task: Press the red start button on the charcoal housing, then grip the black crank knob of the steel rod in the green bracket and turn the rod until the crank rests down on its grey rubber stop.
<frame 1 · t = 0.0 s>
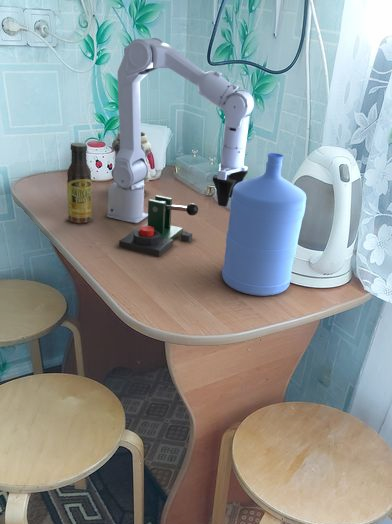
hand: (227, 201, 132), 10 cm above the table, tool pointing down, fingers open, 7 cm apart
button: (146, 231, 127), point 4 cm above the table, slide at 0.1 cm
rod: (176, 207, 131), point 8 cm above the table, hinge at 6.0°
button box: (146, 246, 129), on the table
crank rest: (186, 240, 135), on the table
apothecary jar: (130, 193, 163), on the table
sauce bottle: (80, 221, 140), on the table
rod bracket: (158, 233, 137), on the table
water jug: (255, 281, 118), on the table
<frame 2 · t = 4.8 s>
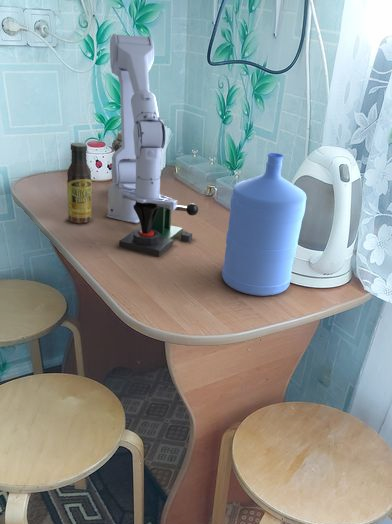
hand: (146, 232, 127), 4 cm above the table, tool pointing down, fingers closed, pressing on button
button: (146, 235, 128), point 3 cm above the table, slide at -0.9 cm, touching gripper
everything else where it was.
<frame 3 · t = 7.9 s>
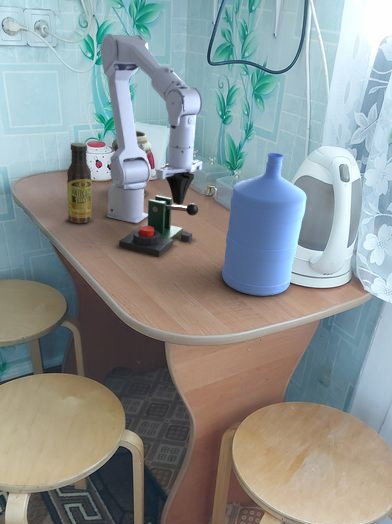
hand: (177, 203, 127), 10 cm above the table, tool pointing down, fingers closed
button: (146, 231, 127), point 4 cm above the table, slide at 0.1 cm
everything else where it was.
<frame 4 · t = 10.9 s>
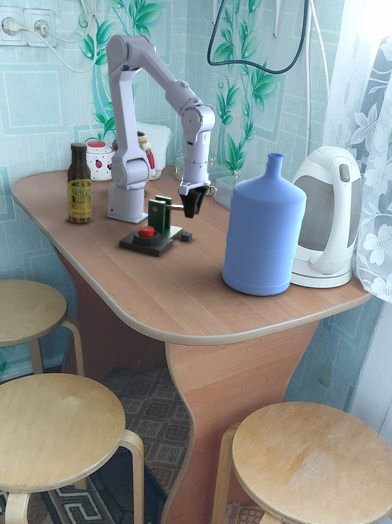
hand: (191, 215, 131), 7 cm above the table, tool pointing down, fingers closed on rod, 3 cm apart
rod: (176, 207, 131), point 8 cm above the table, hinge at 6.0°, touching gripper
everything else where it was.
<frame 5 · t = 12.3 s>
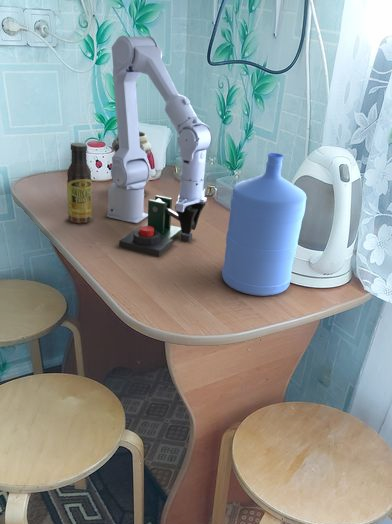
hand: (188, 231, 133), 3 cm above the table, tool pointing down, fingers closed on rod, 3 cm apart
rod: (174, 215, 132), point 6 cm above the table, hinge at -19.7°, touching gripper
everything else where it was.
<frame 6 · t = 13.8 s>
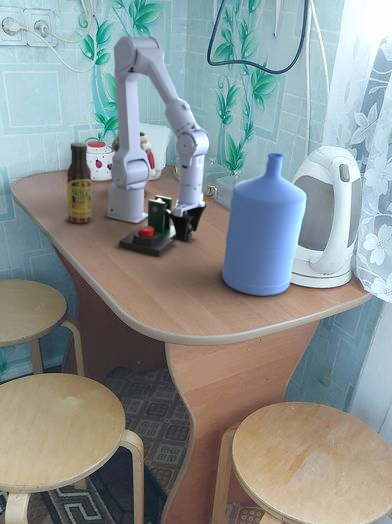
hand: (186, 235, 134), 1 cm above the table, tool pointing down, fingers open, 7 cm apart
rod: (173, 217, 133), point 5 cm above the table, hinge at -28.5°
everything else where it was.
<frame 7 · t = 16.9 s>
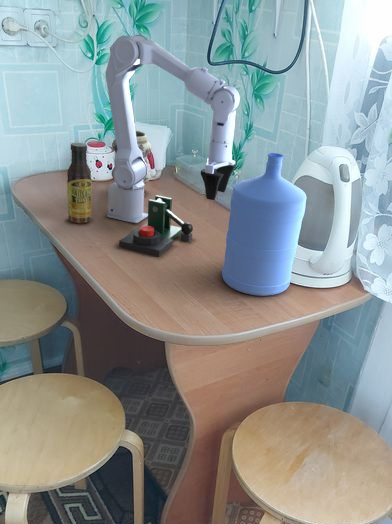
hand: (215, 195, 135), 10 cm above the table, tool pointing down, fingers open, 7 cm apart
nothing on the table moved.
at the end: button pushed in 1.2 cm at the most during the clip, back to where it started at the end; button slide at 0.1 cm; rod at -28° (first picture: +6°) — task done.
